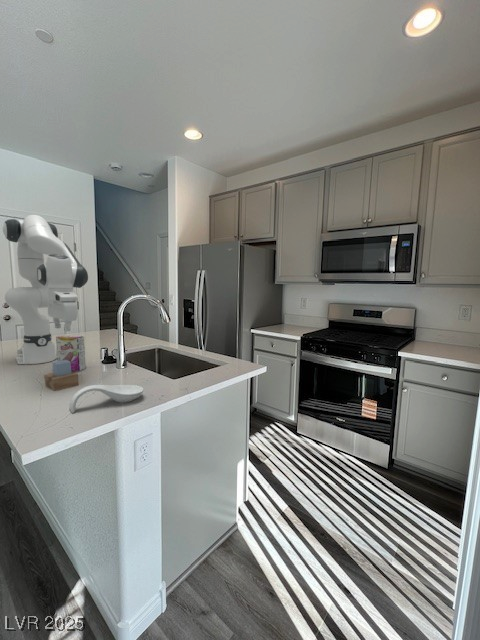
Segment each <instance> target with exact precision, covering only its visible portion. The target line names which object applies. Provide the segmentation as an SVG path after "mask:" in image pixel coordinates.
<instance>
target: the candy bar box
mask: <svg viewBox="0 0 480 640" xmlns="http://www.w3.org/2000/svg"><path fill="white" fill-rule="evenodd" d="M55 340H56V341H55V342H56V343H55V344H56V355H57V359H56V360H57V361H61V360H68V361H70V362H71V371H73V372H82V371H84V370H86V368H87V367H86V352H85V351H86V349H85V348H86V347H85V336H84V335H72V334H70V335H68V334H67V335H65V334H62V335H57V336H55Z"/></svg>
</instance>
